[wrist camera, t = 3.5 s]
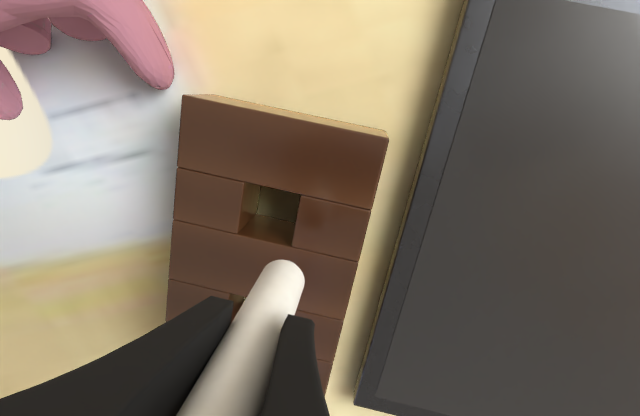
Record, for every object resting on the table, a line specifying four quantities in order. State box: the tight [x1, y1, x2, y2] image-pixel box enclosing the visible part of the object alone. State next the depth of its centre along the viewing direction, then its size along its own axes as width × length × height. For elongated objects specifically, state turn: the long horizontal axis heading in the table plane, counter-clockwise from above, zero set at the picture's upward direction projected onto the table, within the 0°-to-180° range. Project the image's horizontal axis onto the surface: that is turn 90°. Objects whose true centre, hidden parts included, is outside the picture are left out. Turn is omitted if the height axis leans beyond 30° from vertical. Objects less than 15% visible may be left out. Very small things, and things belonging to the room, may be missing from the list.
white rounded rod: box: [176, 260, 305, 416], centre depth 9 cm, size 2×2×8 cm
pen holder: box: [166, 95, 389, 397], centre depth 18 cm, size 14×8×3 cm, turn 169°
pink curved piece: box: [0, 0, 174, 120], centre depth 15 cm, size 10×5×7 cm, turn 100°
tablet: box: [353, 0, 640, 416], centre depth 17 cm, size 22×16×1 cm
